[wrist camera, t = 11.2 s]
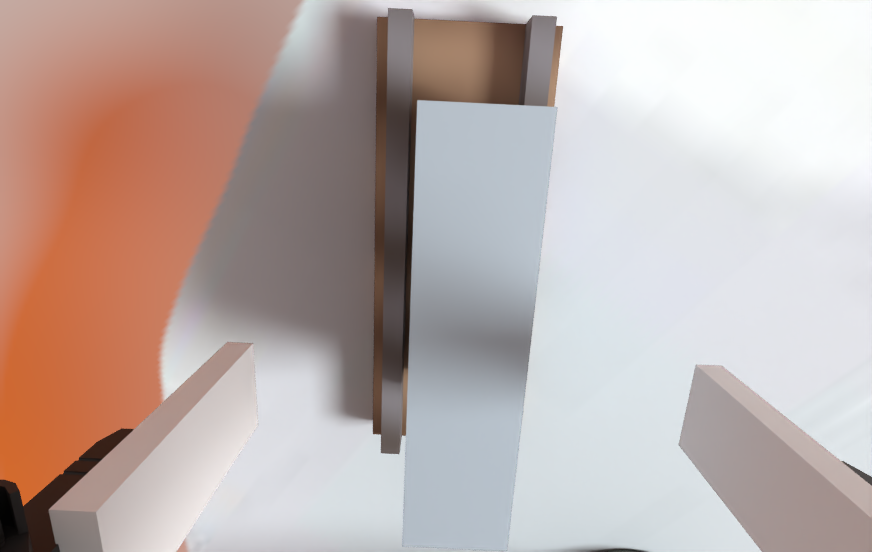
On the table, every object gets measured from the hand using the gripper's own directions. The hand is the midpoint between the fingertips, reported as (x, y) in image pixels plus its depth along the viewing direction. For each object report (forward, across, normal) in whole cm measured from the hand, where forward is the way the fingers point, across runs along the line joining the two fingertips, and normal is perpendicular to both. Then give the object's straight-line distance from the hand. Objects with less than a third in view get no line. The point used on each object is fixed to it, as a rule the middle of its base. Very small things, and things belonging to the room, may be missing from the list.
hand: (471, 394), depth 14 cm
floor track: (+17, 0, 0) cm, 17 cm away
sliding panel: (+16, 0, 0) cm, 16 cm away
